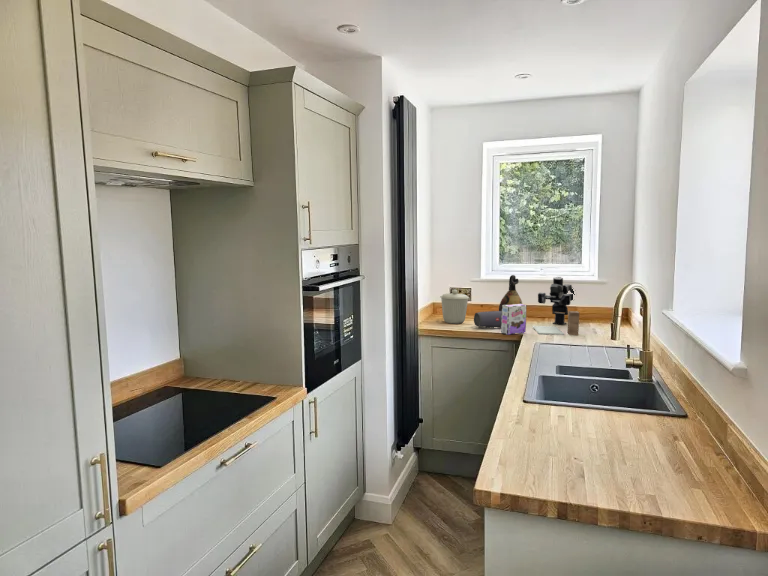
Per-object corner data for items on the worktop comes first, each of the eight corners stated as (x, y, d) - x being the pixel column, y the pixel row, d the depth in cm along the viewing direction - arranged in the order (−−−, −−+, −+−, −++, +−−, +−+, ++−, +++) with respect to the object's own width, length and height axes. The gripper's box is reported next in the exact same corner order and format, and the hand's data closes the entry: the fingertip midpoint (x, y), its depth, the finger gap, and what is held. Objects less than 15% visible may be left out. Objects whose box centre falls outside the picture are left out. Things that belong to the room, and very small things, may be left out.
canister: (472, 321, 338) (473, 289, 336) (461, 326, 323) (462, 292, 321) (447, 319, 348) (448, 287, 346) (434, 322, 333) (435, 289, 331)
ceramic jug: (525, 323, 335) (527, 276, 331) (501, 323, 335) (502, 276, 331) (519, 318, 352) (520, 274, 348) (495, 318, 352) (497, 273, 348)
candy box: (507, 335, 297) (508, 306, 295) (500, 333, 302) (501, 304, 301) (525, 333, 304) (527, 304, 302) (518, 331, 309) (520, 303, 307)
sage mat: (532, 327, 322) (532, 325, 322) (555, 327, 321) (555, 326, 321) (538, 334, 300) (538, 332, 300) (564, 334, 299) (564, 333, 299)
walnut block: (567, 333, 303) (568, 311, 302) (576, 333, 303) (577, 311, 301) (569, 335, 299) (570, 312, 297) (578, 335, 298) (579, 312, 297)
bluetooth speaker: (479, 329, 312) (480, 313, 311) (473, 326, 321) (473, 310, 320) (514, 328, 319) (514, 311, 318) (506, 325, 328) (506, 309, 326)
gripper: (541, 281, 326) (534, 288, 313) (572, 283, 316) (566, 291, 304) (541, 298, 329) (534, 306, 316) (572, 301, 320) (566, 309, 307)
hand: (550, 303), depth 311 cm, fingers open, 9 cm apart
